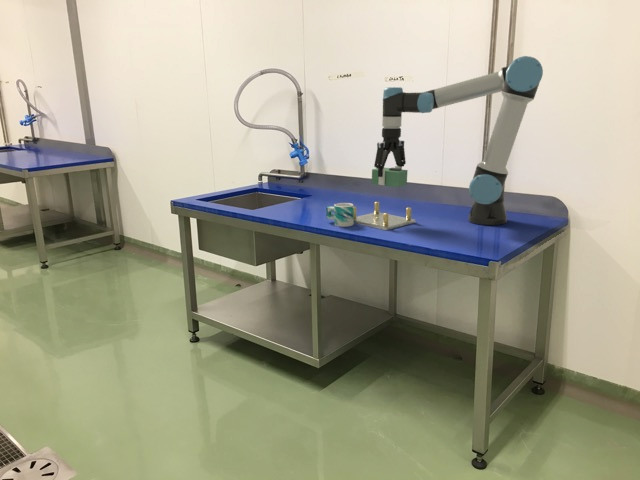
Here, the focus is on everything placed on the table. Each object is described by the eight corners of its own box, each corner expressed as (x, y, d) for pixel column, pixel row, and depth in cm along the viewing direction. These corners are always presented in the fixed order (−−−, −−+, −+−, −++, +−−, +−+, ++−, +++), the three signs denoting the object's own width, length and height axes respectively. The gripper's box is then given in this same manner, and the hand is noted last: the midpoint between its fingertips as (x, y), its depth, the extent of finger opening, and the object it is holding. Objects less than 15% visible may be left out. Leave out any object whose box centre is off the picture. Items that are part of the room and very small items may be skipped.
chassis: (415, 222, 222) (415, 207, 220) (386, 230, 210) (386, 215, 209) (376, 214, 238) (376, 200, 236) (347, 221, 227) (347, 207, 225)
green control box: (406, 184, 219) (407, 167, 217) (397, 187, 213) (398, 169, 211) (381, 181, 226) (381, 164, 224) (371, 184, 219) (372, 167, 217)
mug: (346, 227, 217) (345, 207, 215) (322, 223, 224) (322, 204, 222) (357, 223, 223) (357, 203, 221) (334, 220, 230) (333, 200, 228)
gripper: (402, 125, 222) (400, 179, 228) (365, 128, 209) (364, 185, 215) (416, 126, 217) (413, 181, 223) (379, 129, 203) (378, 187, 209)
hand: (389, 183), depth 219 cm, fingers closed on green control box, 9 cm apart
